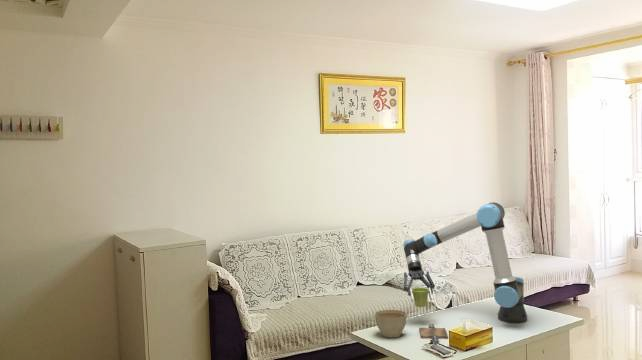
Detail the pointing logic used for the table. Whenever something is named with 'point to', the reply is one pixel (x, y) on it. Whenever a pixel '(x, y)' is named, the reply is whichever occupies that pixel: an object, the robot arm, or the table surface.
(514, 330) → the table surface
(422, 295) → the plant pot
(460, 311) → the table surface
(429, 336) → the pad
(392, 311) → the planter bowl
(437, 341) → the chain ends
